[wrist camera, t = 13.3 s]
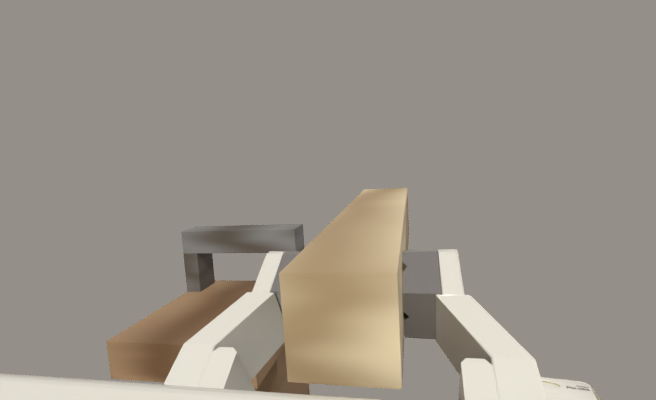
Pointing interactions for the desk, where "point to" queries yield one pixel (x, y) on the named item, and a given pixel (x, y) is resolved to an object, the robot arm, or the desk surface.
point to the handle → (349, 297)
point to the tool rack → (203, 307)
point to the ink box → (567, 390)
